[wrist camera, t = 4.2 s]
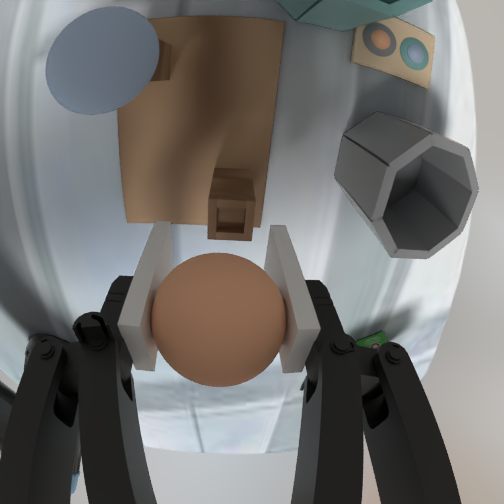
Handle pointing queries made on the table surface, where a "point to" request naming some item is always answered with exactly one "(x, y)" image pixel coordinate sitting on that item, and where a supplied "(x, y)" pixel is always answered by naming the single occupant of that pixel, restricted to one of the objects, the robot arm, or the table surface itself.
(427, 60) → the card
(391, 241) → the tube charcoal
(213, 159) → the stand
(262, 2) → the table surface
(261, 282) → the ball terracotta
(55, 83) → the ball slate
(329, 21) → the tube teal
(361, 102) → the table surface
